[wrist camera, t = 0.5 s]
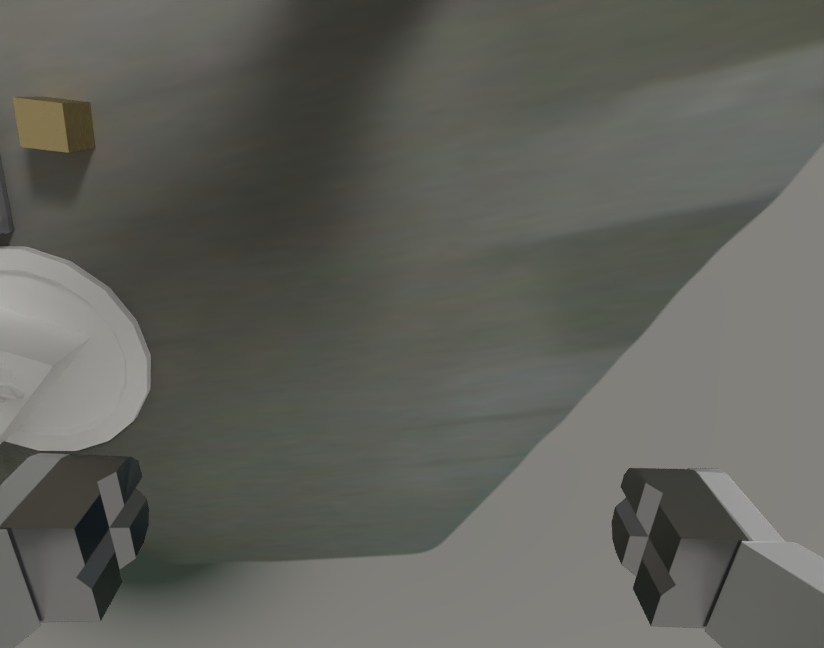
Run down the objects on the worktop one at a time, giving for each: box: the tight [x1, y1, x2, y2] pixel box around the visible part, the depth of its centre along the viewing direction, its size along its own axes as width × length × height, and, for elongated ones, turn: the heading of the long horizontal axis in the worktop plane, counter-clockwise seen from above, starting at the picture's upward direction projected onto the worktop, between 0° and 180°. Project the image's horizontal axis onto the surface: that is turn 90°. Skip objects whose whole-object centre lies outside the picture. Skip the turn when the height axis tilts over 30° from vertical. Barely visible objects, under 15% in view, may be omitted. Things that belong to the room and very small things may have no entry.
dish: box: [0, 246, 151, 451], centre depth 53 cm, size 25×25×11 cm
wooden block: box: [12, 97, 95, 153], centre depth 47 cm, size 4×4×4 cm
